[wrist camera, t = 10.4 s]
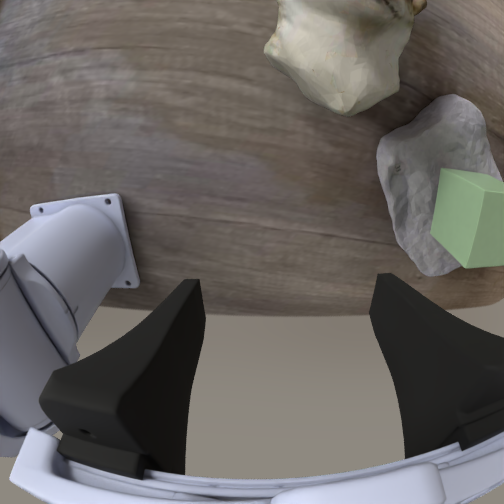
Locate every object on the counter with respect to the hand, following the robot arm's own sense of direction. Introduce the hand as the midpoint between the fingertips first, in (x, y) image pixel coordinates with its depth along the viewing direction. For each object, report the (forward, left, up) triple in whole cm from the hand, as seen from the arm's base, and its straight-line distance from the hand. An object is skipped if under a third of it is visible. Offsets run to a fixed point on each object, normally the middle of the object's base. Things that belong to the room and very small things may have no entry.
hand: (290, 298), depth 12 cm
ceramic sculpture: (+4, +14, -10) cm, 18 cm away
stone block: (+12, +2, -10) cm, 16 cm away
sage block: (+12, +2, -6) cm, 14 cm away
